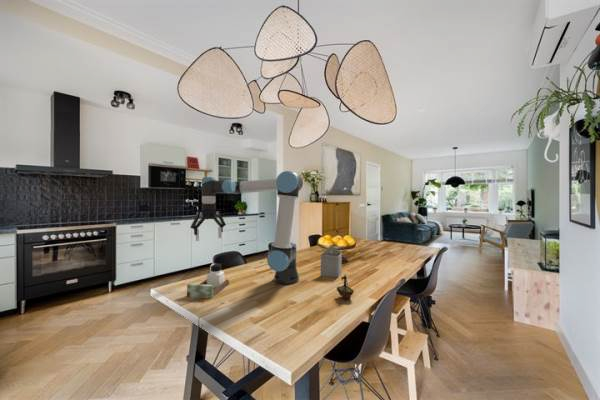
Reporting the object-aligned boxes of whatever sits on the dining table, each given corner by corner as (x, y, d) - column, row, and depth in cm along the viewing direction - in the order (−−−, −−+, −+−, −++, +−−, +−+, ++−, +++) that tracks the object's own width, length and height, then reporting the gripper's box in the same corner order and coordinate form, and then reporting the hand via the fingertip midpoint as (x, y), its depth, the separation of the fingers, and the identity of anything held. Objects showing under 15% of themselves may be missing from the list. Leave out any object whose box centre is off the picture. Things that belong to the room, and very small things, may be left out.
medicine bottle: (224, 283, 138) (224, 262, 138) (218, 288, 131) (219, 266, 131) (212, 282, 139) (212, 262, 139) (206, 287, 132) (206, 265, 132)
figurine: (357, 301, 116) (357, 276, 116) (342, 303, 114) (342, 278, 114) (347, 293, 126) (347, 270, 126) (333, 295, 123) (333, 271, 123)
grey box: (327, 279, 147) (327, 248, 147) (320, 275, 154) (320, 245, 154) (348, 276, 154) (348, 246, 154) (341, 272, 161) (341, 244, 161)
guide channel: (228, 284, 137) (228, 273, 137) (211, 298, 118) (211, 286, 118) (207, 282, 139) (207, 272, 139) (187, 296, 119) (187, 284, 119)
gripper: (225, 202, 152) (225, 236, 152) (184, 203, 135) (184, 241, 135) (231, 203, 147) (231, 237, 147) (189, 203, 129) (189, 242, 129)
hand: (208, 239), depth 141 cm, fingers open, 13 cm apart
